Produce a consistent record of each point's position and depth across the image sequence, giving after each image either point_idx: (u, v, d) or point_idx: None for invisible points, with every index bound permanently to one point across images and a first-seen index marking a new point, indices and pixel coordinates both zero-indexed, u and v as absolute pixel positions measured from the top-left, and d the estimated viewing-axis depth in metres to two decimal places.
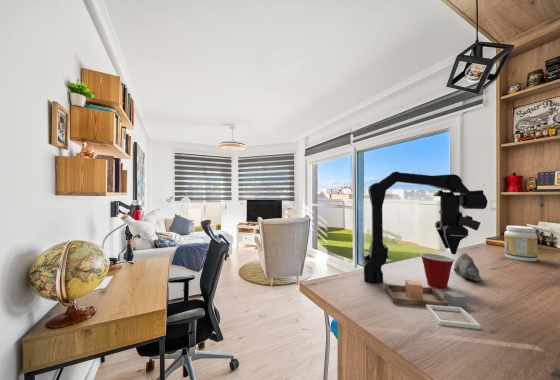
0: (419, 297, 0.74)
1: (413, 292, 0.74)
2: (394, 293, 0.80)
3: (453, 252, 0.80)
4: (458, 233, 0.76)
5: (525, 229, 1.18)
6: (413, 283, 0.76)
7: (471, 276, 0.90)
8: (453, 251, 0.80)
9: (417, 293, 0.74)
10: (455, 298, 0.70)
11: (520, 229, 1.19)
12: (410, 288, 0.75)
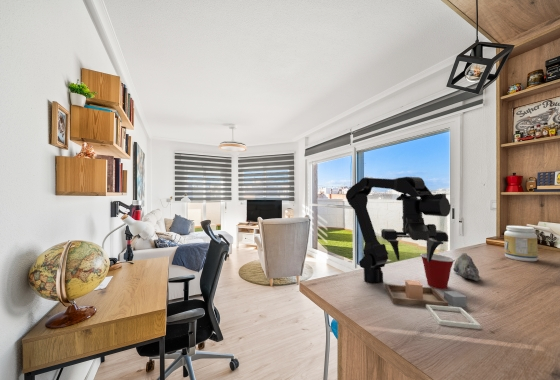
0: (419, 297, 0.74)
1: (413, 292, 0.74)
2: (394, 293, 0.80)
3: None
4: (382, 236, 0.78)
5: (525, 229, 1.18)
6: (413, 283, 0.76)
7: (470, 276, 0.90)
8: (397, 257, 0.78)
9: (417, 293, 0.74)
10: (455, 298, 0.70)
11: (520, 229, 1.19)
12: (410, 288, 0.75)
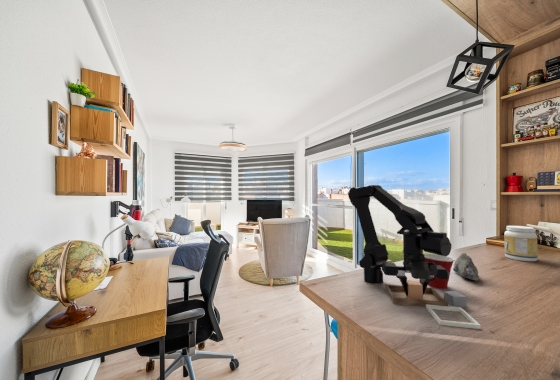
0: (419, 297, 0.74)
1: (413, 292, 0.74)
2: (394, 293, 0.80)
3: (405, 293, 0.77)
4: (383, 270, 0.78)
5: (525, 229, 1.18)
6: (413, 283, 0.76)
7: (469, 276, 0.90)
8: None
9: (417, 293, 0.74)
10: (455, 298, 0.70)
11: (520, 229, 1.19)
12: (410, 288, 0.75)
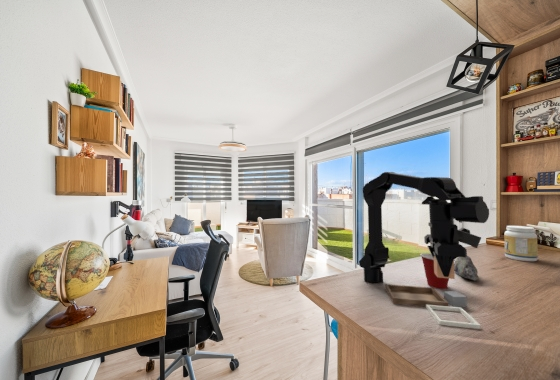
0: None
1: None
2: (394, 293, 0.80)
3: (445, 274, 0.64)
4: (454, 253, 0.58)
5: (525, 229, 1.18)
6: None
7: (469, 276, 0.90)
8: (445, 273, 0.64)
9: None
10: (455, 298, 0.70)
11: (520, 229, 1.19)
12: None
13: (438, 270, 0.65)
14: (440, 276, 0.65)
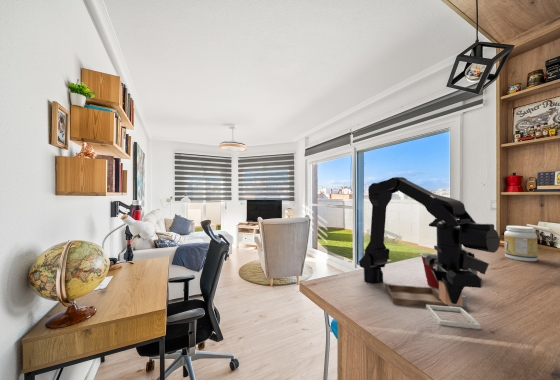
0: None
1: None
2: (394, 293, 0.80)
3: (454, 301, 0.62)
4: (470, 284, 0.55)
5: (525, 229, 1.18)
6: None
7: None
8: (453, 300, 0.62)
9: None
10: None
11: (520, 229, 1.19)
12: None
13: (446, 297, 0.63)
14: (448, 303, 0.63)
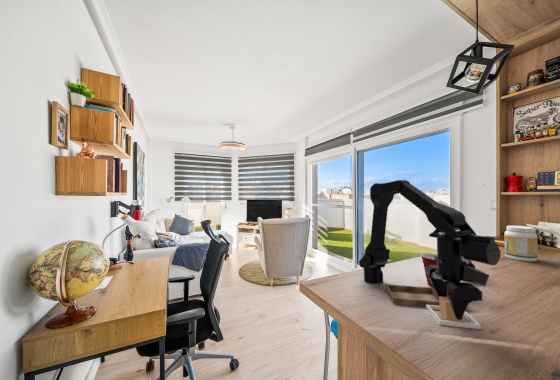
0: None
1: None
2: (394, 293, 0.80)
3: (459, 317, 0.60)
4: (470, 297, 0.55)
5: (525, 229, 1.18)
6: None
7: None
8: (458, 315, 0.60)
9: None
10: None
11: (520, 229, 1.19)
12: None
13: (447, 314, 0.63)
14: (449, 320, 0.62)
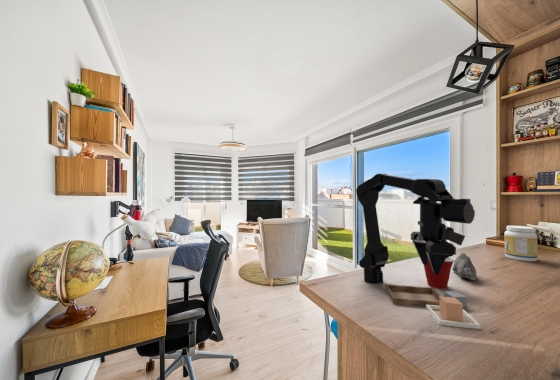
0: None
1: None
2: (394, 293, 0.80)
3: (436, 272, 0.67)
4: (445, 251, 0.62)
5: (525, 229, 1.18)
6: (454, 300, 0.64)
7: (467, 275, 0.91)
8: (435, 271, 0.67)
9: None
10: None
11: (520, 229, 1.19)
12: None
13: (447, 314, 0.63)
14: (449, 320, 0.62)
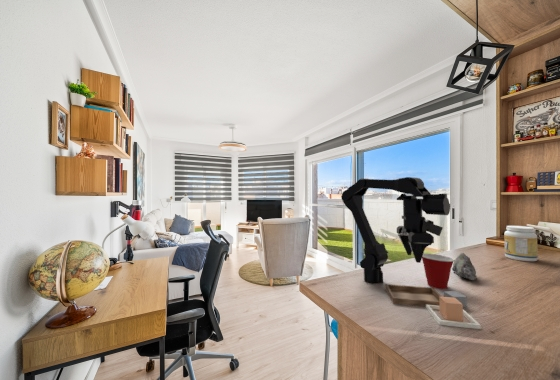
0: None
1: None
2: (394, 293, 0.80)
3: (418, 260, 0.74)
4: (424, 240, 0.70)
5: (525, 229, 1.18)
6: (454, 300, 0.64)
7: (466, 275, 0.91)
8: (417, 259, 0.74)
9: None
10: None
11: (520, 229, 1.19)
12: None
13: (447, 314, 0.63)
14: (449, 320, 0.62)
